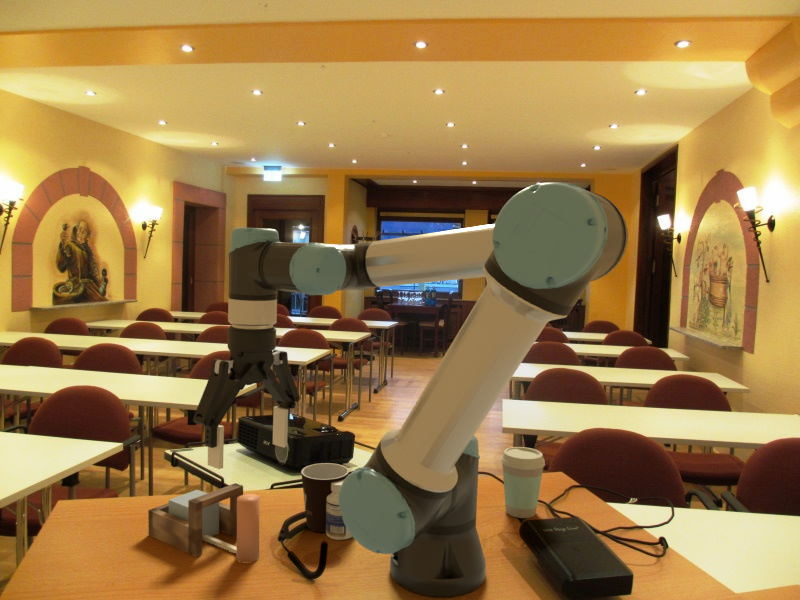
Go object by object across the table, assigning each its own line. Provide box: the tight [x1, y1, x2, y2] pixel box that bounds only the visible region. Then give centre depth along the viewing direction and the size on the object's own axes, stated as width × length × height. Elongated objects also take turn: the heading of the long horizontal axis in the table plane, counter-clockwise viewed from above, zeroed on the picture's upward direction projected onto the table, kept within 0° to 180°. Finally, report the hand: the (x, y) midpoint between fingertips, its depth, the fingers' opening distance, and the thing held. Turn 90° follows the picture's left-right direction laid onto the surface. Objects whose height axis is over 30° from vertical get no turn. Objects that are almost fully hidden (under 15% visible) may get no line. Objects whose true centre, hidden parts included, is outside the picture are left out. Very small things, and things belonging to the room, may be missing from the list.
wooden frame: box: [147, 483, 244, 557], centre depth 111 cm, size 13×10×9 cm
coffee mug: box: [300, 462, 350, 533], centre depth 117 cm, size 12×9×10 cm
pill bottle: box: [325, 479, 353, 541], centre depth 113 cm, size 5×5×10 cm
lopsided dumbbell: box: [168, 489, 261, 564], centre depth 108 cm, size 19×6×10 cm, turn 55°
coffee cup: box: [500, 446, 546, 519], centre depth 124 cm, size 8×8×12 cm
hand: (249, 455), depth 103 cm, fingers open, 13 cm apart
